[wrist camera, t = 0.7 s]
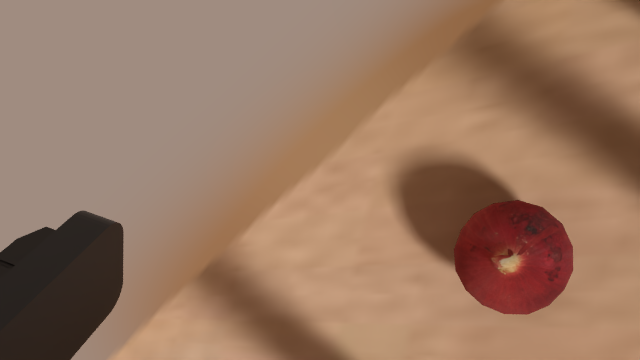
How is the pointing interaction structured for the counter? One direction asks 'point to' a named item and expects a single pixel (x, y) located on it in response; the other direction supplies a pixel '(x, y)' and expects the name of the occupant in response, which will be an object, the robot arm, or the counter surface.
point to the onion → (514, 257)
